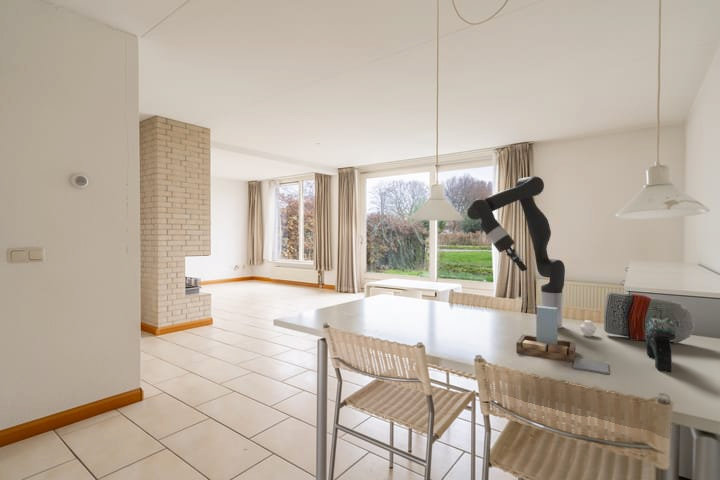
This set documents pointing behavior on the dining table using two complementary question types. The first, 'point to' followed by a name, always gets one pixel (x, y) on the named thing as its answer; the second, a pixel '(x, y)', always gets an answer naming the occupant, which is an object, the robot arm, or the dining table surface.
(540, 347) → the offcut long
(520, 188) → the robot arm
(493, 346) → the dining table surface
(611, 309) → the grey red knit hat
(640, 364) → the dining table surface
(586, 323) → the white rounded lump
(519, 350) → the rack
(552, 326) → the pale blue tall prism
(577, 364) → the mat
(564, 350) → the offcut short
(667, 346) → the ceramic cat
